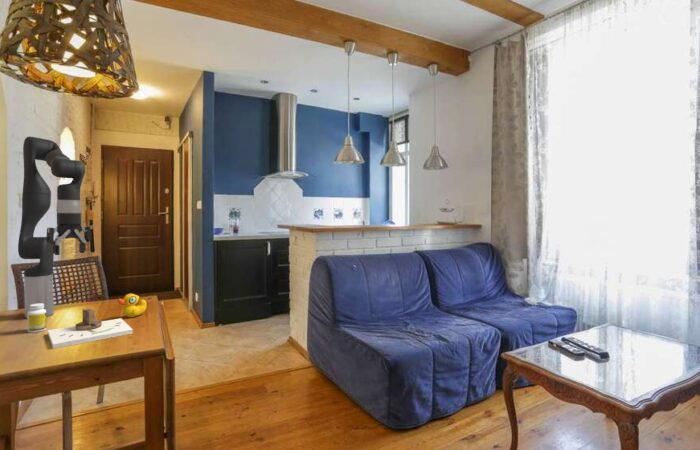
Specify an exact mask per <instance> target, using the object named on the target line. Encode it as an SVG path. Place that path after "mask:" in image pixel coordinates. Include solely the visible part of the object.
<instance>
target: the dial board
mask: <svg viewBox="0 0 700 450" xmlns="http://www.w3.org/2000/svg"><path fill="white" fill-rule="evenodd" d="M101 321H102V325H101V326H100V327H99V328H95V329H90V330H76V329H75V325H72V326H67V327H60V328H53V329H49V330H47V336H48V338H49V341H50V344H51V347H52V349H54V350H55V349H59V348H65V347H69V346H74V345H80V344H86V343H90V342H95V341H101V340H105V339H112V338H115V337H120V336H126V335H130V334H131V335H132V334H133V333H134V332H133V331H134V330H133V328H132V327H131V326H130V325H129V324H128V323H127V322H126V321H125V320H123V318H120V317H119V318H115V319H108V320H101ZM111 337H112V338H111Z"/></svg>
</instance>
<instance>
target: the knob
mask: <svg viewBox="0 0 700 450" xmlns="http://www.w3.org/2000/svg"><path fill="white" fill-rule="evenodd" d="M81 313H82V321H81V322H78V323H76V324H75V325H74V326H75V329H76V330H90V329H95V328H99V327H100V326H101V325H102V321H103V320H99V319H98V320H97V319H96V317H95V316H96V315H95V314H96V312H95V310H93V309H90V308H83V309H82V312H81Z"/></svg>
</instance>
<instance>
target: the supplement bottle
mask: <svg viewBox="0 0 700 450" xmlns="http://www.w3.org/2000/svg"><path fill="white" fill-rule="evenodd" d="M43 308H44V304H43V303H37V304H32V305H30V309H31V311H29V312H28V318H27V332H28V333H39V332H43V331H46V330H47V317H46V310H45V309H43Z"/></svg>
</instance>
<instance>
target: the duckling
mask: <svg viewBox="0 0 700 450" xmlns="http://www.w3.org/2000/svg"><path fill="white" fill-rule="evenodd" d="M139 299H140V296H139V295H137V294H134V293H127V294H125V296H124V297H123V299H121V298H118V299H117V302H118V303H119V305H122V306H123V305H124V307H123V308H122V314H123V315H124V316H126V317H128V318H134V317H138V316H140V315H142V314H143V313H145V311H146V310H147V301H146V300H145V299H140V300H139Z"/></svg>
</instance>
